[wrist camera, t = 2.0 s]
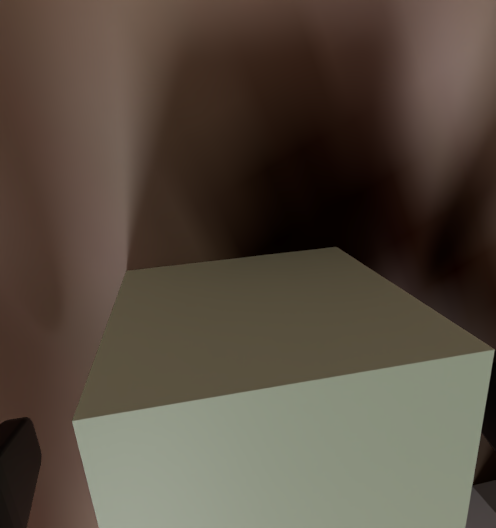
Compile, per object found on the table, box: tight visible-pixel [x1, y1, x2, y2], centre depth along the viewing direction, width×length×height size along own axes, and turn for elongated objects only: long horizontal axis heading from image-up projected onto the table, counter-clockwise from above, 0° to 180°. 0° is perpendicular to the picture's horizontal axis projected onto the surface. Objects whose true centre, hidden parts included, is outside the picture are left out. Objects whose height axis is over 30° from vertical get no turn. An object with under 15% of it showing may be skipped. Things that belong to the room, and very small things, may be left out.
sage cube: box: [72, 247, 495, 528], centre depth 7 cm, size 5×5×5 cm
